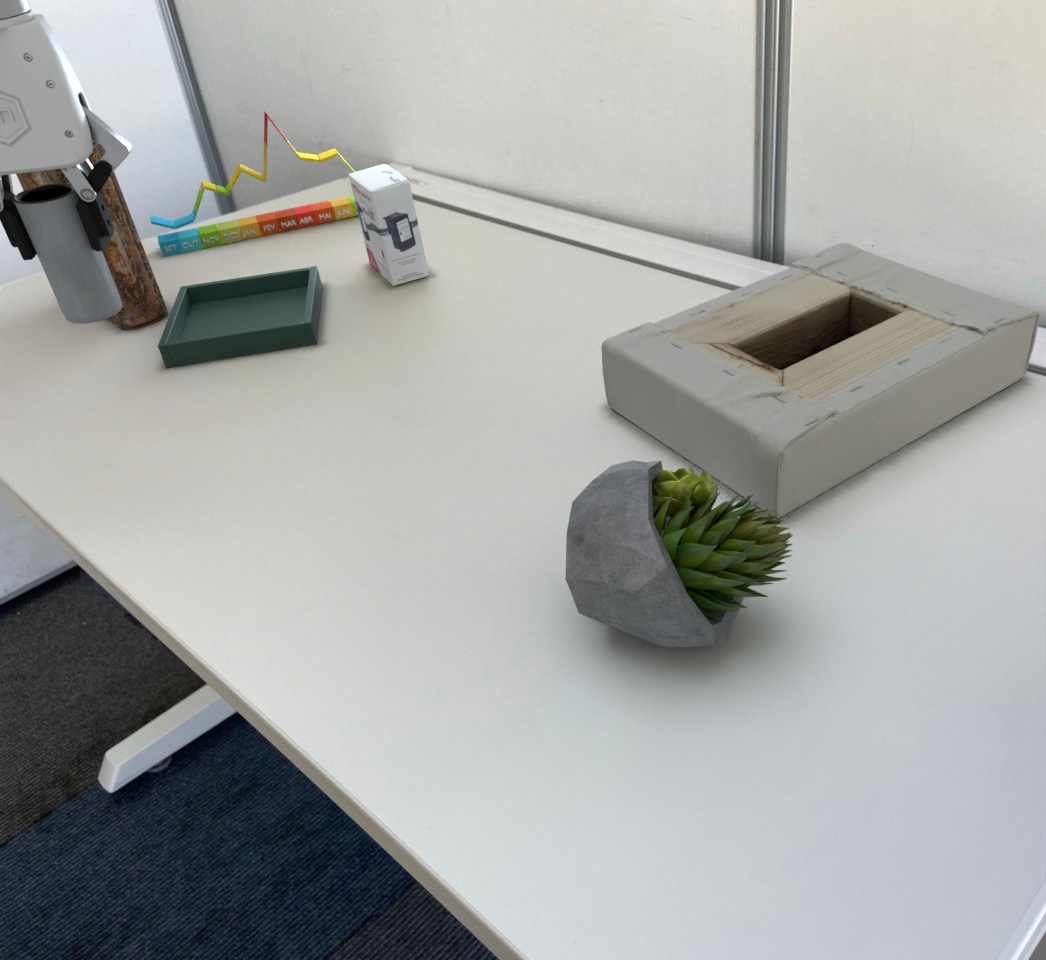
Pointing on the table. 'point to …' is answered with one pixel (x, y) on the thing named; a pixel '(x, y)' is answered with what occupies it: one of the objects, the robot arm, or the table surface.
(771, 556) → the potted plant
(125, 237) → the book
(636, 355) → the box
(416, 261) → the ink box
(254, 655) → the table surface
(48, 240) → the gray hollow cylinder
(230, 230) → the chart
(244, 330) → the tray
